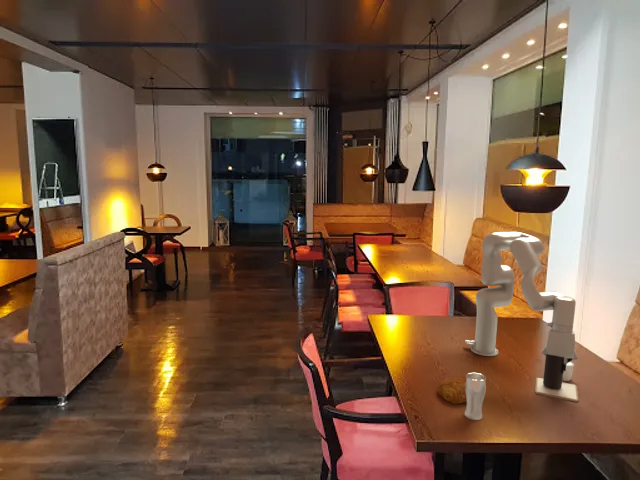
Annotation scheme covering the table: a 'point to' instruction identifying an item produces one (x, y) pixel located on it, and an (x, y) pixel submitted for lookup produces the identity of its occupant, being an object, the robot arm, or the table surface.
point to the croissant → (453, 389)
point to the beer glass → (474, 395)
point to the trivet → (557, 391)
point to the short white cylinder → (568, 372)
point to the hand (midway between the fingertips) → (557, 371)
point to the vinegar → (553, 371)
